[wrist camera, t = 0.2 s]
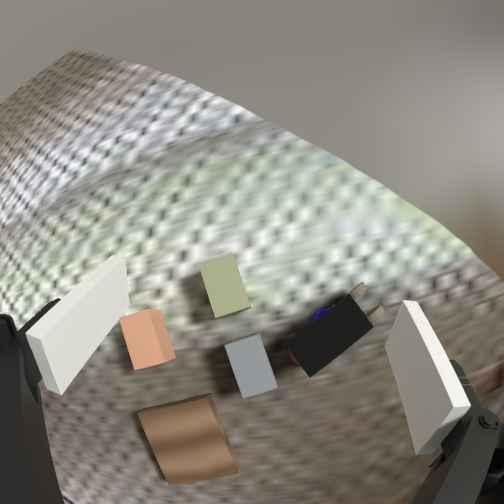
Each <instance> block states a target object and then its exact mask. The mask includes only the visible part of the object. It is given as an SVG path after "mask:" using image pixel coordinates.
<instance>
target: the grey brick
mask: <svg viewBox="0 0 504 504" xmlns="http://www.w3.org/2000/svg"><path fill="white" fill-rule="evenodd" d="M225 348H226V351H227V354H228V357H229V360H230V363H231V366H232V369H233V371H234V374H235V377H236V380H237V383H238V386H239V388H240V391H241V394H242V397H243V398H246V397H250V396H253V395H256V394H259V393H263V392H266V391H269V390H272V389H275V388H278V387H277V382H276V378H275V376H274V373H273V370H272V367H271V364H270V361H269V358H268V355H267V352H266V349H265V347H264V344H263V341H262V338H261V335H260V332H259V333H256V334H253V335H250V336H247V337H244V338H241V339H237V340H234V341H231V342H228V343H227V344H226V345H225Z"/></svg>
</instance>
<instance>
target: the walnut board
mask: <svg viewBox="0 0 504 504" xmlns="http://www.w3.org/2000/svg"><path fill="white" fill-rule="evenodd" d="M137 414H138V416H139V419H140V421H141V424H142V426H143V429H144V431H145V434H146V436H147V438H148V441H149V443H150V445H151V448H152V450H153V452H154V454H155V457H156V459H157V461H158V463H159V465H160V467H161V470H162V472H163V474H164V476H165V478H166V480H167V482H168V484H169V485H176V484H183V483H190V482H196V481H202V480H208V479H213V478H219V477H224V476H228V475H233V474H238V469H239V464H238V462H237V460H236V457H235V455H234V453H233V450H232V448H231V445H230V443H229V440H228V438H227V436H226V433H225V431H224V428H223V425H222V423H221V420H220V418H219V415H218V413H217V410H216V407H215V405H214V402H213V399H212V397H211V394H210V393H208V394H205V395H201V396H197V397H193V398H189V399H185V400H181V401H176V402H172V403H168V404H163V405H158V406H154V407H149V408H144V409H142V410H141V411H140V412H138V413H137Z"/></svg>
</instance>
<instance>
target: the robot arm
mask: <svg viewBox="0 0 504 504" xmlns="http://www.w3.org/2000/svg"><path fill="white" fill-rule="evenodd" d="M128 308H129V296H128V285H127V271H126V258H124V257H118V256H113V255H112V256H111V257H110V258H108V259H107V260H106V261H105V262H104V263H102V264H101V265H100V266H99V267H98V268H96V269H95V270H94V271H93V272H92V273H91V274H89V275H88V276H87V277H86V278H85V279H84V280H83V281H81V282H80V283H79V284H78V285H77V286H76V287H75V288H73V289H72V290H71V291H70V292H69V293H68V294H67V295H66V296H64V297H63V298H62V299H59V298H58V299H56V300H54V301H52V302H50V303H48V304H47V305H46V306H44V307H43V308H42V309H41V311H39V312H38V313H37V314H36V315H35V317H34V316H33V317H32V318H31V319H30V320H29V321H28V322H27V323H26V324H25V325H24V326H23V327H22V328H21V329H20V330H19V331H17V330H16V327H15V324H14V321H13V318H12V317H11V316H10V315H6V314H0V504H64V501H63V497H62V494H61V491H60V487H59V484H58V480H57V477H56V473H55V469H54V465H53V461H52V457H51V452H50V448H49V443H48V438H47V433H46V427H45V421H44V415H43V409H42V402H41V394H40V389H39V386H38V383H39V382H40V380H41V379H43V381H44V383H45V386H46V388H47V389H49V390H51V391H53V392H55V393H57V394H60V395H62V394H63V393H64V391H65V390H66V388H67V387H68V386H69V384H70V383H71V382H72V380H73V379H74V377H75V376H76V375H77V373H78V372H79V371H80V369H81V368H82V367H83V365H84V364H85V363H86V361H87V360H88V359H89V357H90V356H91V355H92V353H93V352H94V351H95V350H96V348H97V347H98V346H99V344H100V343H101V342H102V340H103V339H104V338H105V337H106V335H107V334H108V333H109V331H110V330H111V329H112V328H113V326H114V325H115V324H116V323H117V321H118V320H119V319H120V318H121V316H122V315H123V314H124V313H125V311H126V310H127V309H128ZM385 349H386V352H387V355H388V358H389V361H390V364H391V367H392V370H393V373H394V377H395V380H396V383H397V387H398V390H399V393H400V397H401V400H402V404H403V407H404V411H405V414H406V418H407V422H408V425H409V429H410V433H411V437H412V441H413V445H414V449H415V453H416V455H420V454H429V453H433V452H434V451H435V450H436V449H437V448H438V446H439V445H440V444H441V446H442V450H443V452H442V453H441V454H440V455H439V456H438V457H437V458H436V459H435V461H434V462H433V463H432V464H431V465H430V466H429V467H430V468H431V467H432V466H433V465H434V466H433V467H432V469H431V471H430V473H429V474H428V476H427V478H426V480H425V481H424V483H423V485H422V486H421V488H420V489H419V491H418V493H417V494H416V496H415V497H414V499H413V500H412V502H411V503H410V504H504V424H502V423H500V421H499V419H498V417H497V416H496V415H495V414H494V413H493V412H491V411H489V410H486V409H482V407H481V405H480V403H479V401H478V399H477V397H476V395H475V393H474V391H473V389H472V387H471V385H470V383H469V381H468V379H467V378H466V375H465V373H464V371H463V369H462V367H461V366H460V365H459V364H458V363H457V362H456V361H455V360H449V359H448V357H447V355H446V353H445V351H444V350H443V348H442V346H441V344H440V342H439V340H438V338H437V337H436V335H435V333H434V331H433V329H432V327H431V326H430V324H429V322H428V320H427V319H426V317H425V315H424V313H423V312H422V310H421V308H420V307H419V305H418V303H417V302H414V301H406V300H403V301H402V304H401V307H400V309H399V312H398V315H397V317H396V320H395V322H394V325H393V327H392V330H391V332H390V335H389V337H388V340H387V342H386V344H385Z"/></svg>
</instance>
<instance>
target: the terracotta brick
mask: <svg viewBox="0 0 504 504" xmlns="http://www.w3.org/2000/svg"><path fill="white" fill-rule="evenodd" d="M119 320H120V323H121V327H122V331H123V334H124V338H125V341H126V344H127V348H128V351H129V354H130V357H131V360H132V364H133V367H134V370H138V369H142V368H146V367H150V366H154V365H157V364H161V363H165V362H167V361H170V360H172V359H174V358H176V357H175V354H174V351H173V348H172V345H171V342H170V339H169V336H168V332H167V329H166V326H165V323H164V319H163V316H162V313H161V310H152V309H147V310H144V311H141V312H138V313H134V314H131V315H128V316H125V317H122V318H120V319H119Z"/></svg>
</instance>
